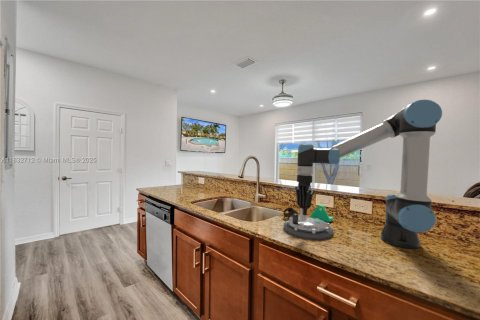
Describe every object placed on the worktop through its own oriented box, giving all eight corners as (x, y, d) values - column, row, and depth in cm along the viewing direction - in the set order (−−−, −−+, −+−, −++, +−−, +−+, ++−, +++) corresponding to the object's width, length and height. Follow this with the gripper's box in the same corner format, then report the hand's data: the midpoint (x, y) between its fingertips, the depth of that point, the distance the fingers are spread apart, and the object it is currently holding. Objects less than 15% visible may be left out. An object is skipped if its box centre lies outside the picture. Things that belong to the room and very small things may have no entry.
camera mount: (333, 221, 132) (333, 205, 132) (329, 223, 126) (329, 207, 126) (314, 217, 140) (315, 202, 140) (310, 219, 134) (310, 204, 134)
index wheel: (311, 218, 127) (311, 207, 127) (338, 230, 106) (338, 217, 106) (280, 221, 120) (280, 209, 120) (303, 235, 99) (303, 220, 99)
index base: (344, 236, 105) (344, 230, 105) (302, 242, 97) (302, 235, 97) (311, 221, 130) (311, 216, 130) (275, 224, 121) (275, 219, 121)
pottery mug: (301, 221, 131) (296, 210, 129) (287, 226, 133) (282, 216, 131) (297, 211, 143) (292, 202, 141) (285, 216, 144) (280, 207, 143)
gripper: (291, 173, 109) (289, 217, 109) (306, 175, 96) (304, 225, 96) (303, 173, 111) (301, 216, 111) (319, 175, 99) (317, 224, 99)
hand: (303, 220), depth 104 cm, fingers closed
